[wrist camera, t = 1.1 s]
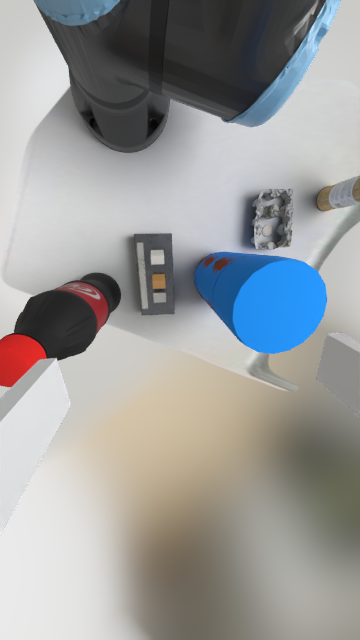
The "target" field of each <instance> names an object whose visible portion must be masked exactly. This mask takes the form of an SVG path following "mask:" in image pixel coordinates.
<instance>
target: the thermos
mask: <svg viewBox="0 0 360 640" xmlns="http://www.w3.org/2000/svg"><path fill="white" fill-rule="evenodd" d="M195 285H196V287H197V290H198V292H199V294H200V295H201V296H202V297H203V299H204V300H205V301H206V302H207V303H208V304H209V306H210V307H211V308H212V309H213V310H214V312H215V313H216V314H217V315H218V316H219V317H220V319H221V320H222V321H223V322H224V323H225V324H226V326H227V327H228V328H229V329H230V330H231V331H232V333H233V334H234V335H235V336H236V337H237V339H238V340H239V341H240V342H242V343H243V344H244V345H246V346H248V347H250V348H251V349H253V350H255V351H257V352H262V353H271V354H274V353H279V352H284V351H288V350H290V349H292V348H294V347H295V346H297V345H299V344H301V343H303V342H304V341H305V340H306V339H307V338H308V337H309V336H310V335H311V334H312V333H313V332H314V331H315V330H316V328H317V327H318V325H319V323H320V321H321V320H322V318H323V316H324V312H325V307H326V303H327V295H326V287H325V283H324V282H323V280H322V279H321V276H320V275H319V273H318V271H316V270H315V269H313V268H312V267H311V266H309V265H308V264H306V263H305V262H302V261H299V260H296V259H291V258H285V257H279V256H268V255H256V254H243V253H231V252H220V253H215V254H210V255H209V256H207V257H206V258H204V259H203V260H202V261H201V262H200V264H199V265H198V266H197V269H196V272H195Z"/></svg>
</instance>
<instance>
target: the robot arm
mask: <svg viewBox="0 0 360 640" xmlns="http://www.w3.org/2000/svg"><path fill="white" fill-rule="evenodd" d="M34 2H35V4H36V6H37V8H38V9H39V11H40V13H41V15H42V17H43V19H44V21H45V23H46V25H47V27H48V29H49V31H50V32H51V34H52V36H53V38H54V40H55V42H56V44H57V46H58V47H59V49H60V51H61V53H62V55H63V57H64V59H65V61H66V63H67V65H68V67H69V77H70V85H71V91H72V95H73V98H74V101H75V104H76V107H77V109H78V111H79V113H80V115H81V117H82V118H83V120H84V122H85V124H86V125H87V127H88V128H89V130H90V131H91V132H92V133H93V135H94V136H95V137H96V138H97V139H98V140H99V141H101V142H102V143H103V144H105V145H106V146H108V147H110V148H112V149H114V150H117V151H120V152H137V151H140V150H143V149H145V148H147V147H148V146H150V145H151V144H152V143H153V142H154V141H155V140H156V139H157V138H158V137H159V135H160V134H161V132H162V130H163V128H164V126H165V123H166V120H167V117H168V112H169V101H170V99H172V100H174V101H177V102H180V103H183V104H185V105H188V106H191V107H193V108H196V109H199V110H202V111H204V112H207V113H210V114H212V115H215V116H218V117H221V119H222V120H223V121H224V122H226V123H237V124H240V125H244V126H247V127H255V126H259V125H262V124H263V123H265V122H266V121H268V120H269V119H270V118H271V117H273V116H274V115H275V114H276V113H277V112H278V110H279V109H280V108H281V107H282V106H283V105H284V103H285V102H286V101H287V100H288V98H289V97H290V95H291V94H292V93H293V91H294V90H295V88H296V87H297V86H298V84H299V83H300V81H301V79H302V78H303V76H304V75H305V73H306V71H307V70H308V68H309V66H310V64H311V63H312V61H313V59H314V58H315V56H316V54H317V52H318V45H319V43H320V41H321V40H322V38H323V37H324V36H325V34H326V33H327V32H328V30H329V28H330V26H331V24H332V21H333V19H334V17H335V15H336V12H337V10H338V7H339V4H340V2H341V0H34ZM316 379H317V380H318V381H319V382H320V383H321V384H322V385H323V386H325V387H326V388H327V389H328V390H329V391H330V392H331V393H332V394H333V395H335V396H336V397H337V398H338V399H339V400H340V401H341V402H342V403H343V404H345V405H346V406H347V407H348V408H349V409H350V410H351V411H352V412H354V413H355V414H356V415H357V416H358V417H359V418H360V342H359V341H357V340H355V339H353V338H350V337H349V336H347V335H345V334H343V333H329V334H326V338H325V342H324V347H323V352H322V356H321V360H320V365H319V369H318V373H317V378H316ZM70 406H71V402H70V399H69V396H68V393H67V390H66V386H65V383H64V380H63V377H62V374H61V371H60V367H59V364H58V361H57V358H51V359H40V360H38V361H37V362H36V363H35V364H34V365H33V366H32V367H31V368H30V369H29V370H28V371H27V372H26V373H25V374H24V375H23V376H22V377H21V378H20V379H19V380H18V381H17V382H16V383H15V384H14V385H13V386H12V387H11V388H10V389H9V390H8V391H7V392H6V393H5V394H4V395H3V396H2V397H1V398H0V535H1V533H2V531H3V529H4V528H5V526H6V524H7V522H8V520H9V518H10V516H11V515H12V513H13V511H14V509H15V507H16V505H17V504H18V502H19V500H20V498H21V496H22V494H23V493H24V491H25V488H26V487H27V485H28V483H29V481H30V479H31V478H32V476H33V474H34V472H35V470H36V469H37V467H38V464H39V463H40V461H41V459H42V457H43V456H44V454H45V452H46V450H47V448H48V446H49V445H50V443H51V441H52V439H53V437H54V435H55V433H56V432H57V429H58V428H59V426H60V424H61V422H62V421H63V419H64V416H65V415H66V413H67V411H68V409H69V407H70Z"/></svg>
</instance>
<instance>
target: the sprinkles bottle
mask: <svg viewBox="0 0 360 640" xmlns="http://www.w3.org/2000/svg"><path fill="white" fill-rule="evenodd" d="M357 204H360V176H357V177H354V178H351V179H348V180H345V181H342V182H340V183H338V184H335V185H332V186H328V187H326V188H324V189H323V190H322V191H321V192H320V193H319V195H318V198H317V205H318V207H319V209H320V210H323V211H329V210H331V209H336V208H343V207H347V206H352V205H357Z"/></svg>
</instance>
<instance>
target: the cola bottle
mask: <svg viewBox="0 0 360 640" xmlns="http://www.w3.org/2000/svg"><path fill="white" fill-rule="evenodd" d="M120 299H121V292H120V288H119V286H118V284H117V282H116V281H115V280H114V279H113V278H111V277H110V276H108V275H106V274H103V273H91V274H88V275H86V276H84V277H83V278H81V279H80V280H76V281H71V282H68V283H66V284H64V285H63V286H61V287H58V288H56V289H54V290H50V291H46V292H43V293H41V294H38V295H36V296H34V297H31V298H30V299H29V300H28V302H27V304H26V306H25V308H24V310H23V312H21V313H20V315H19V317H18V319H17V322H16V325H15V329H14V333H12V334H9V335H7V336H5V337H3V338H2V339H1V340H0V385H1V386H6V387H12V386H13V385H14V384H15V383H16V382H17V381H18V380H19V379H20V378H21V377H22V376H23V375H24V374H25V373H26V372H27V371H28V370H29V369H30V368H31V367H32V366H33V365H34V364H35V363H36V362H37V361H38V360H40V359H51V358H57V361H58V360H62V359H65V358H67V357H70V356H74V355H77V354H80V353H82V352H84V351H85V350H86V348H87V347H88V346H89V345H90V344H91V343H92V341H93V340H94V338H95V336H96V334H97V333H98V331H99V330H100V329H101V327H102V326H103V325H104V324H105V323H106V322H107V320H108V318H109V315H110V313H111V312H113V311H114V310H115V309H116V308H117V306H118V305H119V302H120Z"/></svg>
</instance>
